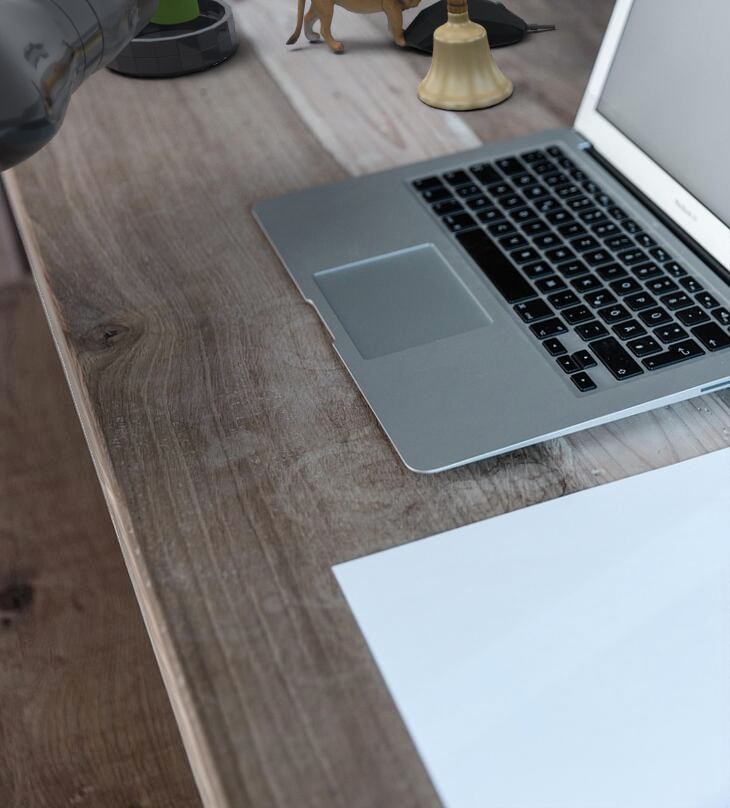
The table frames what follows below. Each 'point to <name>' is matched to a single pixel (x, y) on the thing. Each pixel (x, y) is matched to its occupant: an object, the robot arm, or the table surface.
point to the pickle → (175, 11)
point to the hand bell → (462, 66)
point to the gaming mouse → (480, 11)
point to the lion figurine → (360, 3)
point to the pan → (180, 44)
